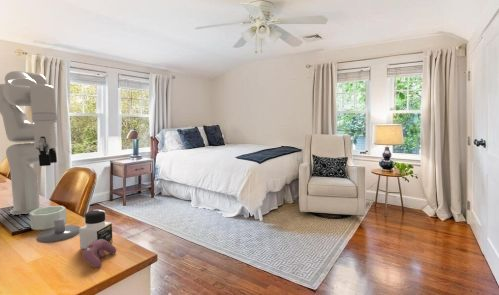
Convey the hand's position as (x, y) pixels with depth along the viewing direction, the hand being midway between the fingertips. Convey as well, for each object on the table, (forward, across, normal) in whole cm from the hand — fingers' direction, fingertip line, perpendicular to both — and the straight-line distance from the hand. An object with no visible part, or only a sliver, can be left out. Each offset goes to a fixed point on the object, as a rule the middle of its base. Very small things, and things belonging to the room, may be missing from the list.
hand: (48, 164), depth 103 cm
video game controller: (+28, +30, +18) cm, 45 cm away
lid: (+27, +3, +2) cm, 27 cm away
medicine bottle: (+28, +19, +16) cm, 37 cm away
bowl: (+26, -10, -4) cm, 28 cm away
